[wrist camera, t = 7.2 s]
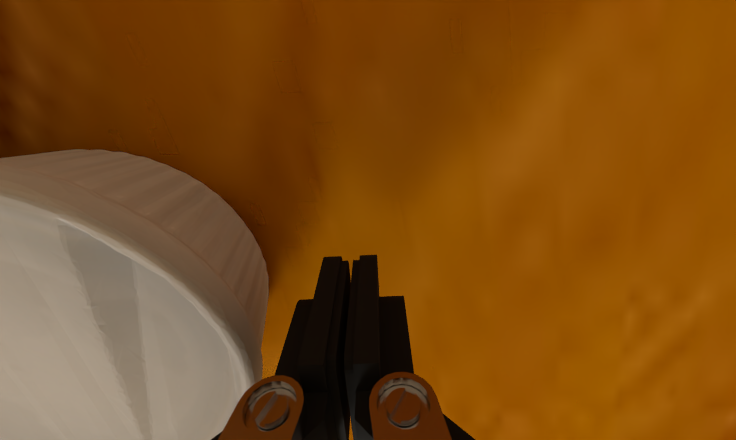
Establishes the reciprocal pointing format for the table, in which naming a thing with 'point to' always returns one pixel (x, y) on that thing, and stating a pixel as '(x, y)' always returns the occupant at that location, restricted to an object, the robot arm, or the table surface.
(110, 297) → the ramekin
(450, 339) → the table surface
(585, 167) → the table surface
